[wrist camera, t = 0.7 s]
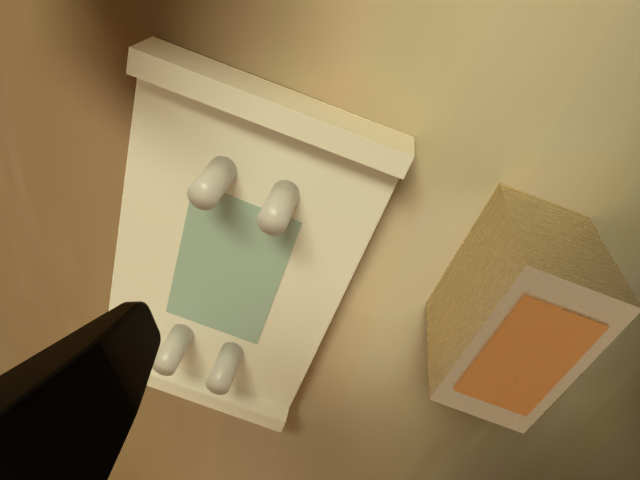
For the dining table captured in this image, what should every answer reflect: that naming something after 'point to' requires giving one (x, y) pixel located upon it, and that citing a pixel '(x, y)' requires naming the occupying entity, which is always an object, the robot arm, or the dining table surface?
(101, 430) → the robot arm
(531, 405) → the block
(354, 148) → the pin tray
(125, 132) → the dining table surface
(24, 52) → the dining table surface
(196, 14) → the dining table surface
